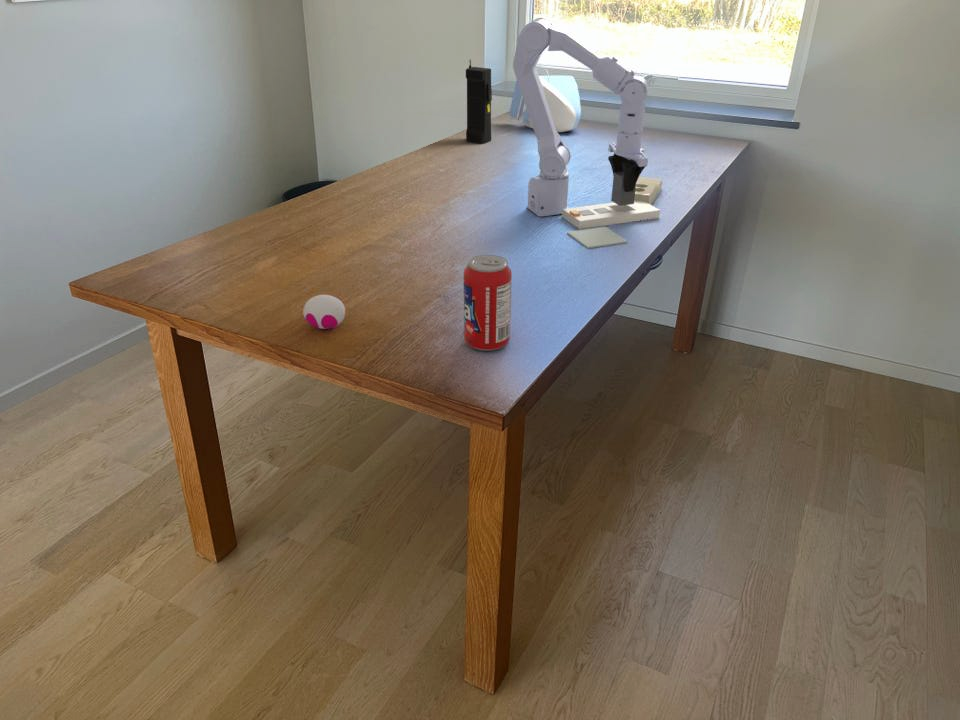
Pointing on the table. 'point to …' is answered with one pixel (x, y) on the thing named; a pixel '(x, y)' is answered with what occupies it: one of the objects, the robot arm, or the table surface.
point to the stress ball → (324, 311)
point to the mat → (596, 237)
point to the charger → (621, 191)
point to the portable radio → (478, 104)
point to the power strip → (609, 214)
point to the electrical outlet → (647, 189)
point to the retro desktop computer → (553, 102)
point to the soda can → (487, 302)
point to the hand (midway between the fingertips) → (623, 188)
